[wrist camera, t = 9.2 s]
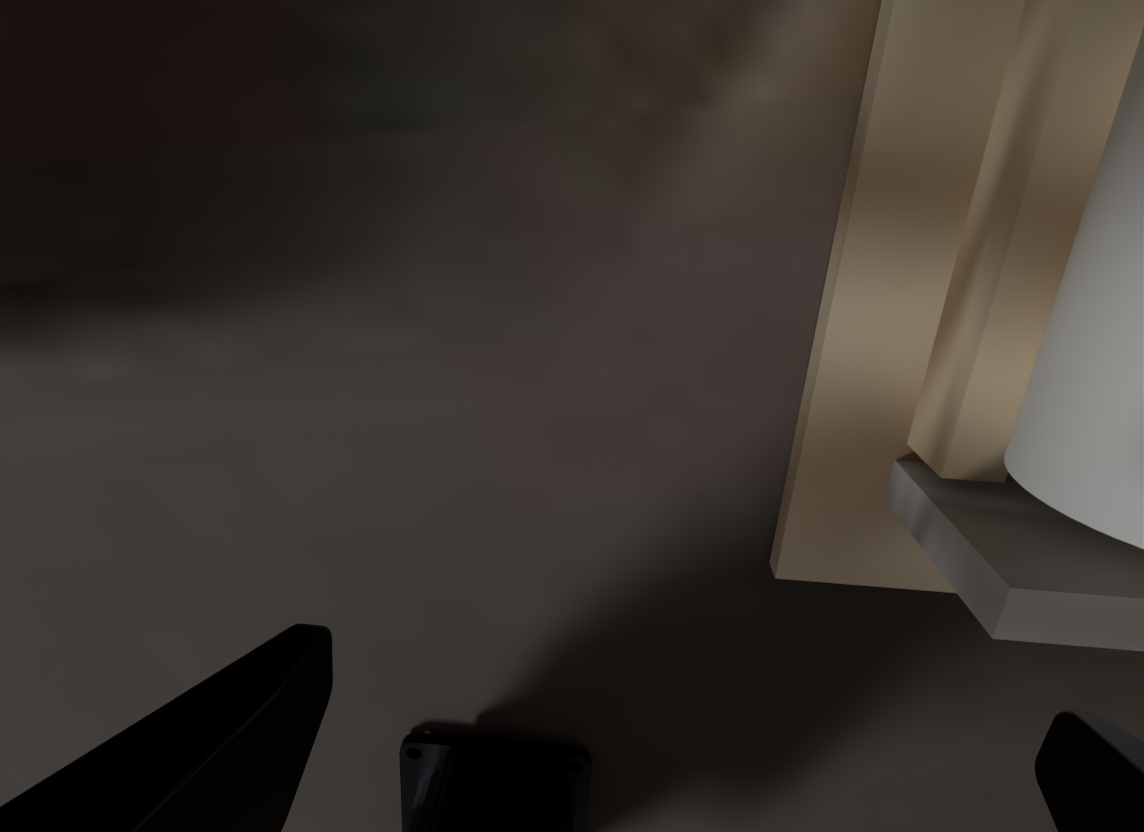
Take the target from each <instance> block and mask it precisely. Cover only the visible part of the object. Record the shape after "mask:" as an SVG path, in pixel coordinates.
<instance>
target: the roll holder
mask: <svg viewBox="0 0 1144 832" xmlns="http://www.w3.org/2000/svg"><path fill="white" fill-rule="evenodd" d="M1143 28H1144V0H882V1H881V6H880V11H879V16H878V21H877V26H876V31H875V36H874V41H873V46H872V51H871V56H870V61H869V66H868V71H867V76H866V81H865V86H864V91H863V96H862V101H861V106H860V111H859V116H858V121H857V126H856V131H855V136H854V141H853V146H852V151H851V156H850V161H849V166H848V171H847V176H846V181H845V186H844V191H843V196H842V201H841V206H840V211H839V216H838V221H837V226H836V231H835V236H834V241H833V246H832V251H831V256H830V261H829V266H828V271H827V276H826V281H825V286H824V291H823V296H822V301H821V306H820V311H819V316H818V321H817V326H816V331H815V336H814V341H813V346H812V351H811V356H810V361H809V366H808V371H807V376H806V381H805V386H804V391H803V396H802V401H801V406H800V411H799V416H798V421H797V426H796V431H795V436H794V441H793V446H792V451H791V456H790V461H789V466H788V471H787V476H786V481H785V486H784V491H783V496H782V501H781V506H780V511H779V516H778V521H777V526H776V531H775V536H774V541H773V546H772V551H771V556H770V561H769V564H770V566H771V569H772V571H773V574H774V577H775V578H776V579H788V580H800V581H813V582H825V583H838V584H850V585H862V586H875V587H887V588H900V589H912V590H924V591H937V592H949V593H957V594H958V595H959V596H960V598H961V599H962V600H963V602H964V603H965V604H966V605H967V607H968V608H969V609H970V611H971V612H972V613H973V614H974V616H975V617H976V618H977V620H978V621H979V622H980V623H981V625H982V626H983V627H984V629H985V630H986V631H987V632H988V634H989V635H990V636H991V638H992V639H1000V640H1012V641H1025V642H1037V643H1049V644H1061V645H1073V646H1086V647H1098V648H1110V649H1122V650H1135V651H1144V549H1142V548H1139V547H1137V546H1134V545H1132V544H1129V543H1126V542H1124V541H1121V540H1119V539H1116V538H1114V537H1111V536H1109V535H1107V534H1105V533H1102V532H1100V531H1098V530H1095V529H1093V528H1091V527H1089V526H1087V525H1085V524H1083V523H1081V522H1078V521H1076V520H1074V519H1072V518H1070V517H1068V516H1067V515H1065V514H1063V513H1061V512H1059V511H1058V510H1056V509H1054V508H1052V507H1050V506H1049V505H1047V504H1046V503H1044V502H1043V501H1041V500H1039V499H1038V498H1036V497H1035V496H1034V495H1032V494H1031V493H1030V492H1028V491H1027V490H1026V489H1024V488H1023V487H1022V486H1021V485H1020V484H1019V483H1018V482H1017V481H1016V480H1015V479H1014V478H1013V477H1012V476H1011V475H1010V473H1009V472H1008V471H1007V468H1006V466H1005V464H1004V456H1005V453H1006V450H1007V447H1008V444H1009V440H1010V437H1011V434H1012V431H1013V428H1014V425H1015V422H1016V419H1017V416H1018V413H1019V410H1020V407H1021V404H1022V400H1023V397H1024V394H1025V391H1026V388H1027V385H1028V382H1029V379H1030V376H1031V373H1032V370H1033V367H1034V363H1035V360H1036V357H1037V354H1038V351H1039V348H1040V345H1041V342H1042V339H1043V336H1044V333H1045V330H1046V326H1047V323H1048V320H1049V317H1050V314H1051V311H1052V308H1053V305H1054V302H1055V299H1056V296H1057V293H1058V290H1059V286H1060V283H1061V280H1062V277H1063V274H1064V271H1065V268H1066V265H1067V262H1068V259H1069V256H1070V253H1071V249H1072V246H1073V243H1074V240H1075V237H1076V234H1077V231H1078V228H1079V225H1080V222H1081V219H1082V216H1083V212H1084V209H1085V206H1086V203H1087V200H1088V197H1089V194H1090V191H1091V188H1092V185H1093V182H1094V179H1095V175H1096V172H1097V169H1098V166H1099V163H1100V160H1101V157H1102V154H1103V151H1104V148H1105V145H1106V142H1107V139H1108V135H1109V132H1110V129H1111V126H1112V123H1113V120H1114V117H1115V114H1116V111H1117V108H1118V105H1119V102H1120V98H1121V95H1122V92H1123V89H1124V86H1125V83H1126V80H1127V77H1128V74H1129V71H1130V68H1131V65H1132V61H1133V58H1134V55H1135V52H1136V49H1137V46H1138V43H1139V40H1140V37H1141V34H1142V31H1143Z"/></svg>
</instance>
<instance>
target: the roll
mask: <svg viewBox="0 0 1144 832" xmlns="http://www.w3.org/2000/svg"><path fill="white" fill-rule="evenodd" d="M1004 464H1005V466H1006V468H1007V471H1008V472H1009V473H1010V475H1011V476H1012V477H1013V478H1014V479H1015V480H1016V481H1017V482H1018V483H1019V484H1020V485H1021V486H1022V487H1023V488H1024V489H1026V490H1027V491H1028V492H1030V493H1031V494H1032V495H1034V496H1035V497H1036V498H1038V499H1039V500H1041V501H1043V502H1044V503H1046V504H1047V505H1049V506H1050V507H1052V508H1054V509H1056V510H1058V511H1059V512H1061V513H1063V514H1065V515H1067V516H1068V517H1070V518H1072V519H1074V520H1076V521H1078V522H1081V523H1083V524H1085V525H1087V526H1089V527H1091V528H1093V529H1095V530H1098V531H1100V532H1102V533H1105V534H1107V535H1109V536H1111V537H1114V538H1116V539H1119V540H1121V541H1124V542H1126V543H1129V544H1132V545H1134V546H1137V547H1139V548H1142V549H1144V28H1143V31H1142V34H1141V37H1140V40H1139V43H1138V46H1137V49H1136V52H1135V55H1134V58H1133V61H1132V65H1131V68H1130V71H1129V74H1128V77H1127V80H1126V83H1125V86H1124V89H1123V92H1122V95H1121V98H1120V102H1119V105H1118V108H1117V111H1116V114H1115V117H1114V120H1113V123H1112V126H1111V129H1110V132H1109V135H1108V139H1107V142H1106V145H1105V148H1104V151H1103V154H1102V157H1101V160H1100V163H1099V166H1098V169H1097V172H1096V175H1095V179H1094V182H1093V185H1092V188H1091V191H1090V194H1089V197H1088V200H1087V203H1086V206H1085V209H1084V212H1083V216H1082V219H1081V222H1080V225H1079V228H1078V231H1077V234H1076V237H1075V240H1074V243H1073V246H1072V249H1071V253H1070V256H1069V259H1068V262H1067V265H1066V268H1065V271H1064V274H1063V277H1062V280H1061V283H1060V286H1059V290H1058V293H1057V296H1056V299H1055V302H1054V305H1053V308H1052V311H1051V314H1050V317H1049V320H1048V323H1047V326H1046V330H1045V333H1044V336H1043V339H1042V342H1041V345H1040V348H1039V351H1038V354H1037V357H1036V360H1035V363H1034V367H1033V370H1032V373H1031V376H1030V379H1029V382H1028V385H1027V388H1026V391H1025V394H1024V397H1023V400H1022V404H1021V407H1020V410H1019V413H1018V416H1017V419H1016V422H1015V425H1014V428H1013V431H1012V434H1011V437H1010V440H1009V444H1008V447H1007V450H1006V453H1005V456H1004Z"/></svg>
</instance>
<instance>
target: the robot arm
mask: <svg viewBox="0 0 1144 832" xmlns="http://www.w3.org/2000/svg"><path fill="white" fill-rule="evenodd" d="M332 684H333V663H332V635H331V632H330V630H329V629H328V628H327V627H325V626H318V625H310V624H295V625H293V626H291V627H289V628H288V629H286V630H284V631H283V632H281V633H280V634H278V635H276V636H275V637H273V638H271V639H270V640H268V641H267V642H265V643H263V644H262V645H260V646H259V647H257V648H255V649H254V650H252V651H251V652H249V653H247V654H246V655H244V656H242V657H241V658H239V659H238V660H236V661H234V662H233V663H231V664H230V665H228V666H226V667H225V668H223V669H222V670H220V671H218V672H217V673H215V674H213V675H212V676H210V677H209V678H207V679H205V680H204V681H202V682H201V683H199V684H197V685H196V686H194V687H193V688H191V689H189V690H188V691H186V692H184V693H183V694H181V695H180V696H178V697H176V698H175V699H173V700H172V701H170V702H168V703H167V704H165V705H163V706H162V707H160V708H159V709H157V710H155V711H154V712H152V713H151V714H149V715H147V716H146V717H144V718H143V719H141V720H139V721H138V722H136V723H134V724H133V725H131V726H130V727H128V728H126V729H125V730H123V731H122V732H120V733H118V734H117V735H115V736H114V737H112V738H110V739H109V740H107V741H105V742H104V743H102V744H101V745H99V746H97V747H96V748H94V749H93V750H91V751H89V752H88V753H86V754H85V755H83V756H81V757H80V758H78V759H76V760H75V761H73V762H72V763H70V764H68V765H67V766H65V767H64V768H62V769H60V770H59V771H57V772H55V773H54V774H52V775H51V776H49V777H47V778H46V779H44V780H43V781H41V782H39V783H38V784H36V785H35V786H33V787H31V788H30V789H28V790H26V791H25V792H23V793H22V794H20V795H18V796H17V797H15V798H14V799H12V800H10V801H9V802H7V803H6V804H4V805H2V806H1V807H0V832H281V830H282V828H283V826H284V824H285V821H286V819H287V816H288V813H289V811H290V808H291V805H292V803H293V800H294V797H295V794H296V792H297V789H298V786H299V783H300V780H301V778H302V775H303V772H304V769H305V766H306V764H307V761H308V758H309V755H310V752H311V750H312V747H313V744H314V741H315V738H316V736H317V733H318V730H319V727H320V724H321V722H322V719H323V716H324V713H325V710H326V708H327V705H328V702H329V699H330V695H331V690H332ZM413 748H416V749H418V750H416V749H413ZM399 754H400V780H401V807H402V832H584V829H585V819H586V809H587V799H588V789H589V779H590V769H591V757H590V754H589V753H588V751H586V750H585V749H583V748H580V747H573V746H561V745H549V744H537V743H526V742H514V741H502V740H491V739H479V738H467V737H456V736H444V735H432V734H421V733H412V734H409V735H407V736H406V737H405V738H404V739H403V742H402V745H401V748H400V752H399ZM572 762H578V763H572ZM1035 774H1036V779H1037V782H1038V785H1039V787H1040V789H1041V792H1042V794H1043V796H1044V799H1045V801H1046V804H1047V806H1048V808H1049V811H1050V813H1051V816H1052V818H1053V820H1054V823H1055V825H1056V828H1057V830H1058V832H1144V742H1143V741H1142V740H1140V739H1138V738H1137V737H1135V736H1134V735H1132V734H1130V733H1129V732H1127V731H1126V730H1124V729H1122V728H1121V727H1119V726H1117V725H1116V724H1114V723H1113V722H1111V721H1109V720H1108V719H1106V718H1104V717H1103V716H1101V715H1098V714H1094V713H1088V712H1079V711H1070V710H1066V711H1061V712H1060V713H1058V714H1057V715H1056V716H1055V718H1054V719H1053V721H1052V724H1051V726H1050V728H1049V730H1048V732H1047V735H1046V737H1045V739H1044V741H1043V744H1042V746H1041V748H1040V750H1039V752H1038V755H1037V757H1036V761H1035Z"/></svg>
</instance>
